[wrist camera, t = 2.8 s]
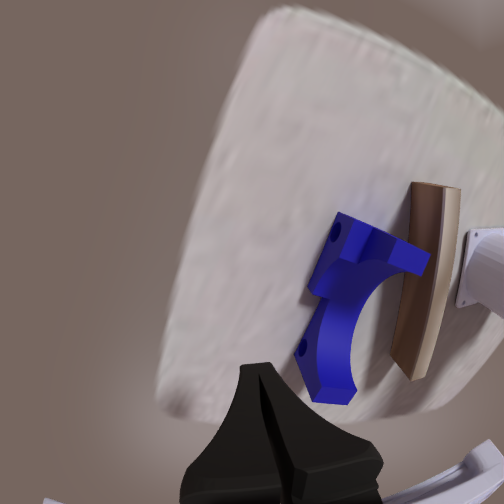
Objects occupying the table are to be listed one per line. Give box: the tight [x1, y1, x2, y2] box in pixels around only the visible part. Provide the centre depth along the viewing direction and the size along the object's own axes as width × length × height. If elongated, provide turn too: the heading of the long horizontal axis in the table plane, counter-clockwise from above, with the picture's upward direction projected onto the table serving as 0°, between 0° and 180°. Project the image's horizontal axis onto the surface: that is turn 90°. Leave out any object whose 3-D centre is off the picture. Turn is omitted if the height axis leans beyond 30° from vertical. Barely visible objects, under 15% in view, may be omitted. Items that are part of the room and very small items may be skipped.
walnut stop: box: [390, 182, 461, 382], centre depth 21 cm, size 2×16×4 cm, turn 3°
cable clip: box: [294, 212, 431, 405], centre depth 20 cm, size 12×4×6 cm, turn 161°
